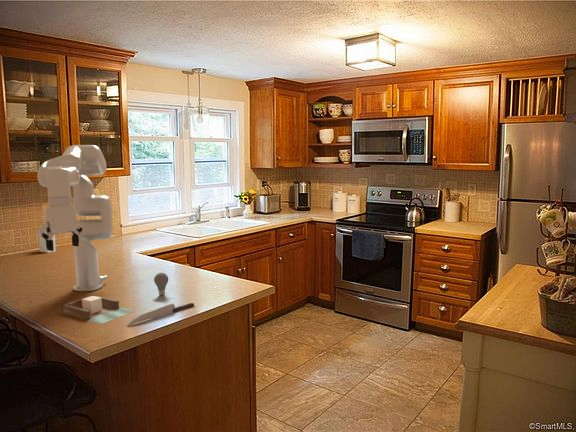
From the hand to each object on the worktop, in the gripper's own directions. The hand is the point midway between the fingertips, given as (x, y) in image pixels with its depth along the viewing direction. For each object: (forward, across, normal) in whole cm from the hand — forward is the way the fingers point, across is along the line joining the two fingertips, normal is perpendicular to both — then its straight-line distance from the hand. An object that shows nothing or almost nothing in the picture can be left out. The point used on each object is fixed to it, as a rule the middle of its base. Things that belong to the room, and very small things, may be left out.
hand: (63, 248), depth 174 cm
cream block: (+26, -9, +2) cm, 28 cm away
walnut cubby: (+27, -9, +5) cm, 29 cm away
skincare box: (+26, -61, -124) cm, 140 cm away
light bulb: (+27, -39, +6) cm, 48 cm away
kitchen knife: (+28, -22, +26) cm, 44 cm away
